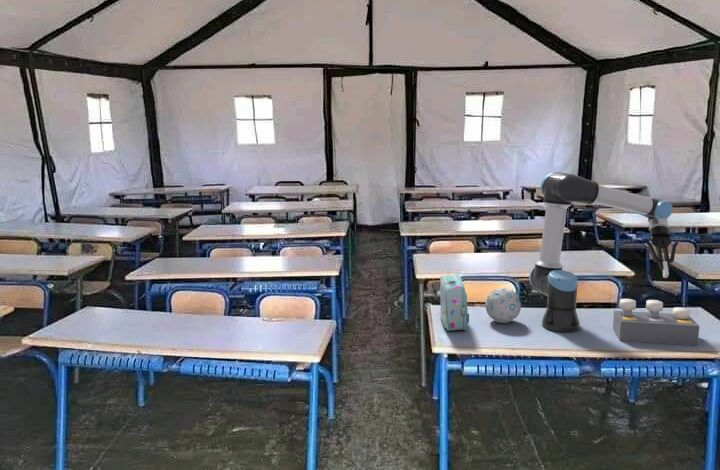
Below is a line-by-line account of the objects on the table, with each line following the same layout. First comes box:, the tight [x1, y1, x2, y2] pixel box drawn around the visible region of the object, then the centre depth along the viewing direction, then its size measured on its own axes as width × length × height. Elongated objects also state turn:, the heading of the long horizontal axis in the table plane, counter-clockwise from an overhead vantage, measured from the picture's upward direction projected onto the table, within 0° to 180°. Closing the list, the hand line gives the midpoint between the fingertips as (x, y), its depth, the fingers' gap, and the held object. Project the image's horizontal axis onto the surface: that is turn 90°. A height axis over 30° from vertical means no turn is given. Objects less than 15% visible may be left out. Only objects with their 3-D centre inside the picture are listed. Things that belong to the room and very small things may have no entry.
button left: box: [618, 298, 637, 317], centre depth 233 cm, size 6×6×8 cm
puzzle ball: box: [484, 287, 522, 324], centre depth 251 cm, size 15×15×15 cm
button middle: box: [645, 299, 664, 318], centre depth 231 cm, size 6×6×8 cm
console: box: [612, 310, 700, 346], centre depth 230 cm, size 28×14×8 cm, turn 77°
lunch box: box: [439, 273, 470, 332], centre depth 248 cm, size 27×10×21 cm, turn 179°
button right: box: [671, 306, 691, 320], centre depth 229 cm, size 6×6×8 cm
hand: (666, 276), depth 239 cm, fingers closed
